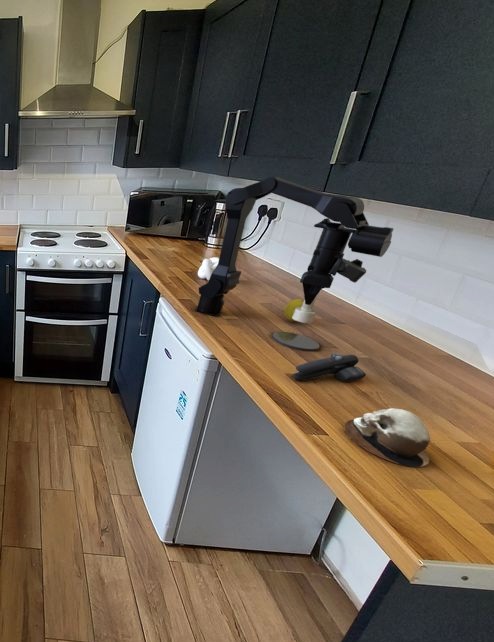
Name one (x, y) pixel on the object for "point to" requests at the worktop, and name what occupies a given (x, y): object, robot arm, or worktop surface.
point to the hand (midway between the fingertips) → (308, 303)
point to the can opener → (331, 368)
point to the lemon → (292, 308)
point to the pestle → (304, 313)
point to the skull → (392, 436)
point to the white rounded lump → (208, 267)
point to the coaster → (295, 341)
